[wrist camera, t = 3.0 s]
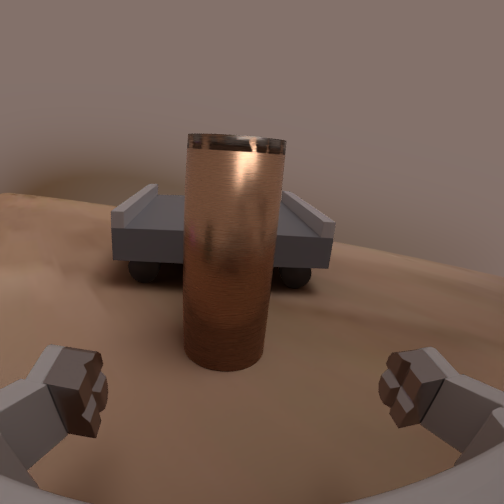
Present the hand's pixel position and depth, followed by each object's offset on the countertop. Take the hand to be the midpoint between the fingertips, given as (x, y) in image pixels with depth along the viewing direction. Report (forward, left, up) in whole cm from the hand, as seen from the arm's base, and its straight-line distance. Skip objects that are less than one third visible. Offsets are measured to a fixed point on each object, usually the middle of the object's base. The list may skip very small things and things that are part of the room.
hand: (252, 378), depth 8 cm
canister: (0, -12, -8) cm, 14 cm away
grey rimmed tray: (0, -29, -8) cm, 30 cm away
